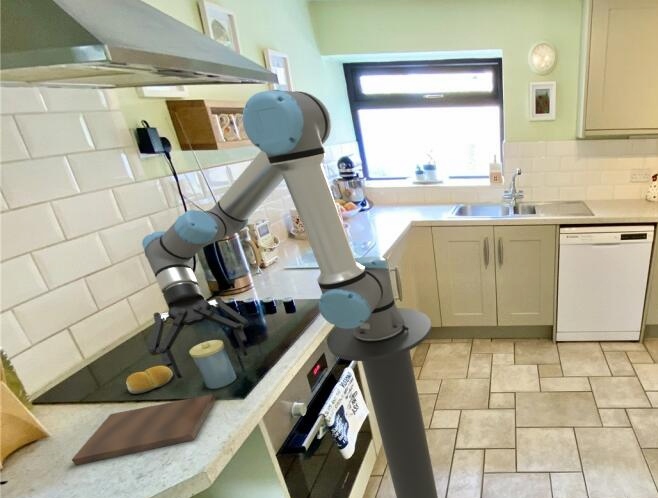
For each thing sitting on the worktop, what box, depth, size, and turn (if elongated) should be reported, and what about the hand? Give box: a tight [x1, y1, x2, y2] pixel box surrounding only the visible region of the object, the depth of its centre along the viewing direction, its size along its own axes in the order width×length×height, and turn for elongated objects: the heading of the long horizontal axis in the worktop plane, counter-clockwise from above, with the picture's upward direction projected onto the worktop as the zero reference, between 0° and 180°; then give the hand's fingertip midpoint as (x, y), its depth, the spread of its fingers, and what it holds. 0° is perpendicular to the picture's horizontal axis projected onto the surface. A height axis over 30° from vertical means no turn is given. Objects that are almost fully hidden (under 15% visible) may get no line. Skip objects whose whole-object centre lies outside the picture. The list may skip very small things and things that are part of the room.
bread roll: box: [125, 365, 174, 395], centre depth 103 cm, size 8×9×4 cm
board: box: [71, 393, 217, 466], centre depth 88 cm, size 20×14×2 cm
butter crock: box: [188, 339, 237, 390], centre depth 101 cm, size 7×7×11 cm
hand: (213, 364), depth 100 cm, fingers open, 13 cm apart
